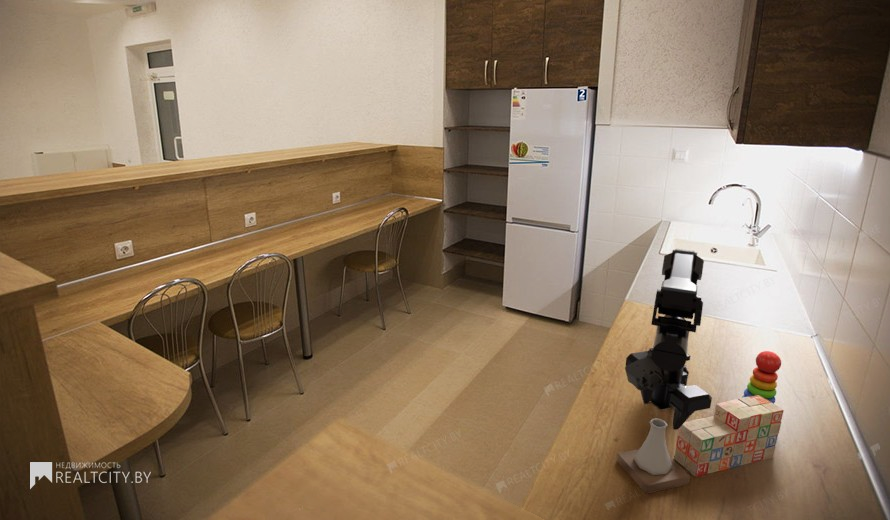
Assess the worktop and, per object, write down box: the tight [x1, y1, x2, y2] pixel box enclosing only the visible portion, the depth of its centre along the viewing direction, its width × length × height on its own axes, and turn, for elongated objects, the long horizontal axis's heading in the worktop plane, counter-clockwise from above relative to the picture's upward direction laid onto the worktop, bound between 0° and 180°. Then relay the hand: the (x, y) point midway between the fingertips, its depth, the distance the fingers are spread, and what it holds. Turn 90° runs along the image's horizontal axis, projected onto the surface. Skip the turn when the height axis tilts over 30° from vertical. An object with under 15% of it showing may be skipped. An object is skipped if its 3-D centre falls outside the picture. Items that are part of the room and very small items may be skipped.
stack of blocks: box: [673, 395, 785, 477], centre depth 109 cm, size 21×6×12 cm, turn 108°
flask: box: [633, 417, 673, 475], centre depth 104 cm, size 7×7×10 cm
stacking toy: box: [741, 350, 782, 404], centre depth 121 cm, size 8×8×19 cm
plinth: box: [616, 448, 691, 494], centre depth 106 cm, size 10×10×2 cm
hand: (660, 415), depth 104 cm, fingers open, 9 cm apart
